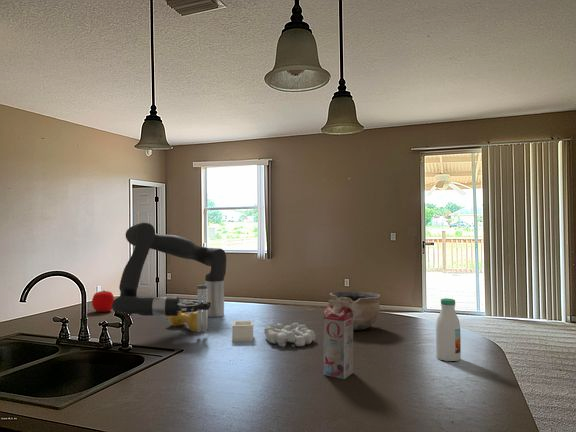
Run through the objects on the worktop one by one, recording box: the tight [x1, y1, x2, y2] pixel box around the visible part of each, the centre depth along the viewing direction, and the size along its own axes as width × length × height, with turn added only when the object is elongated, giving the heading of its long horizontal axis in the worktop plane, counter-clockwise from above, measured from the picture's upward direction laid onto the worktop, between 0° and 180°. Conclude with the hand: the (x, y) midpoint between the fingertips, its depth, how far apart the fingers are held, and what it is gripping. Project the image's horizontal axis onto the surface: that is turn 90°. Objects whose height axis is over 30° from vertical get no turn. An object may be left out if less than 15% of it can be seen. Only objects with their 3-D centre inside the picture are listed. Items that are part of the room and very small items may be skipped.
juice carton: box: [323, 299, 354, 380], centre depth 130 cm, size 7×7×22 cm
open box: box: [231, 320, 254, 342], centre depth 170 cm, size 8×8×6 cm
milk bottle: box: [435, 297, 462, 362], centre depth 145 cm, size 8×8×20 cm
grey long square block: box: [196, 284, 208, 333], centre depth 171 cm, size 4×4×18 cm
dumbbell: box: [167, 311, 203, 333], centre depth 187 cm, size 19×9×8 cm, turn 47°
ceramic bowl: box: [329, 290, 381, 331], centre depth 187 cm, size 22×22×15 cm
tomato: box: [91, 290, 115, 313], centre depth 222 cm, size 10×11×11 cm
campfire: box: [264, 322, 316, 347], centre depth 167 cm, size 22×21×6 cm
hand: (209, 305), depth 171 cm, fingers closed on grey long square block, 3 cm apart
